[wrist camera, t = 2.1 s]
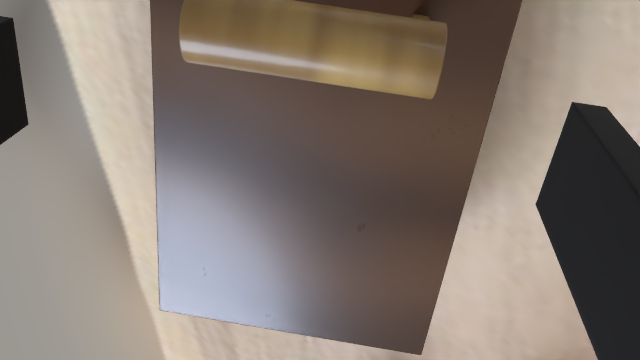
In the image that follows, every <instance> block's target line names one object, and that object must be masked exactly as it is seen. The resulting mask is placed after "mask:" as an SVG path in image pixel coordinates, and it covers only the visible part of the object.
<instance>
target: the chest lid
mask: <svg viewBox="0 0 640 360" xmlns="http://www.w3.org/2000/svg"><path fill="white" fill-rule="evenodd" d="M521 3H522V0H150V11H151V43H152V76H153V109H154V142H155V174H156V207H157V240H158V273H159V305H160V310H161V311H167V312H173V313H179V314H185V315H190V316H196V317H202V318H208V319H214V320H220V321H225V322H231V323H237V324H243V325H249V326H254V327H260V328H266V329H272V330H278V331H283V332H289V333H295V334H301V335H307V336H312V337H318V338H324V339H330V340H336V341H342V342H347V343H353V344H359V345H365V346H371V347H376V348H382V349H388V350H394V351H400V352H405V353H411V354H417V355H421V354H422V350H423V347H424V343H425V340H426V336H427V333H428V329H429V326H430V322H431V319H432V315H433V312H434V308H435V305H436V301H437V298H438V294H439V291H440V287H441V284H442V280H443V277H444V273H445V270H446V266H447V263H448V259H449V256H450V252H451V249H452V245H453V242H454V238H455V235H456V231H457V228H458V224H459V221H460V217H461V214H462V210H463V207H464V203H465V200H466V196H467V193H468V189H469V186H470V182H471V179H472V175H473V172H474V168H475V165H476V161H477V158H478V154H479V151H480V147H481V144H482V140H483V136H484V133H485V129H486V126H487V122H488V119H489V115H490V112H491V108H492V105H493V101H494V98H495V94H496V91H497V87H498V84H499V80H500V77H501V73H502V70H503V66H504V63H505V59H506V56H507V52H508V49H509V45H510V42H511V38H512V35H513V31H514V28H515V24H516V21H517V17H518V14H519V10H520V7H521Z"/></svg>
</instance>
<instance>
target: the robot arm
mask: <svg viewBox="0 0 640 360" xmlns="http://www.w3.org/2000/svg"><path fill="white" fill-rule="evenodd" d="M27 125H28V118H27V111H26V104H25V98H24V91H23V84H22V77H21V71H20V63H19V57H18V49H17V43H16V36H15V29H14V22H13V18H8V17H2V16H0V144H2V143H3V142H5V141H6V140H7V139H9V138H10V137H12V136H13V135H14V134H16V133H17V132H19V131H20V130H21V129H23V128H24V127H25V126H27ZM536 206H537V209H538V211H539V214H540V216H541V219H542V221H543V224H544V226H545V229H546V231H547V234H548V236H549V239H550V241H551V244H552V246H553V249H554V251H555V254H556V256H557V259H558V261H559V264H560V266H561V269H562V271H563V274H564V276H565V279H566V281H567V284H568V286H569V289H570V291H571V294H572V296H573V299H574V301H575V304H576V306H577V309H578V311H579V314H580V316H581V319H582V321H583V324H584V326H585V329H586V331H587V334H588V336H589V339H590V341H591V343H592V346H593V348H594V351H595V353H596V356H597V358H598V360H640V147H639V146H638V144H637V143H636V142H635V141H634V140H633V138H632V137H631V136H630V135H629V134H628V133H627V131H626V130H625V129H624V128H623V127H622V125H621V124H620V123H619V122H618V121H617V119H616V118H615V117H614V116H613V115H612V113H611V112H610V111H609V110H608V109H607V107H602V106H595V105H588V104H582V103H575V102H572V104H571V107H570V110H569V112H568V115H567V118H566V121H565V124H564V126H563V129H562V132H561V135H560V138H559V140H558V143H557V146H556V149H555V152H554V155H553V157H552V160H551V163H550V166H549V169H548V171H547V174H546V177H545V180H544V183H543V185H542V188H541V191H540V194H539V197H538V200H537V202H536Z"/></svg>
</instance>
